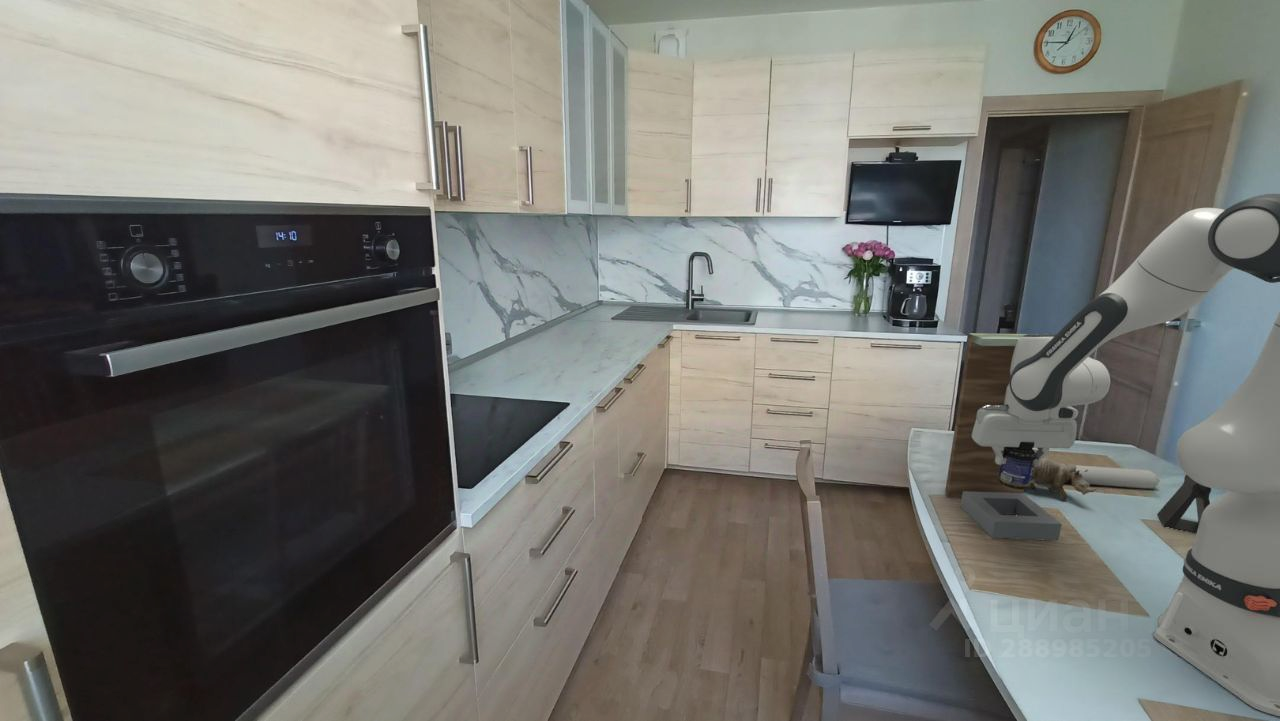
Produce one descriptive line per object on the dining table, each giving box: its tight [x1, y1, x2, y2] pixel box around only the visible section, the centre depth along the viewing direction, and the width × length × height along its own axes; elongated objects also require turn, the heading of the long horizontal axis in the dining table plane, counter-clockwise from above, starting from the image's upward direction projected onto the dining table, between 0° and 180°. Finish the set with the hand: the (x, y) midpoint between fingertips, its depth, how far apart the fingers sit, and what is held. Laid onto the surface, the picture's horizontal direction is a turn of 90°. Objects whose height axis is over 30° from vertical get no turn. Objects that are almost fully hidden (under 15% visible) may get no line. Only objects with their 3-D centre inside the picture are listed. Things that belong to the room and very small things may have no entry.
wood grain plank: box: [944, 332, 1028, 499], centre depth 134 cm, size 6×18×42 cm, turn 87°
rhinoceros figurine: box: [1029, 457, 1097, 503], centre depth 142 cm, size 8×14×15 cm
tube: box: [1074, 464, 1160, 490], centre depth 148 cm, size 5×5×25 cm
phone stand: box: [1156, 474, 1212, 534], centre depth 127 cm, size 9×6×12 cm, turn 59°
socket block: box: [960, 491, 1063, 541], centre depth 129 cm, size 14×14×4 cm
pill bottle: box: [998, 442, 1036, 491], centre depth 126 cm, size 6×6×11 cm
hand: (1017, 464), depth 126 cm, fingers closed on pill bottle, 6 cm apart
